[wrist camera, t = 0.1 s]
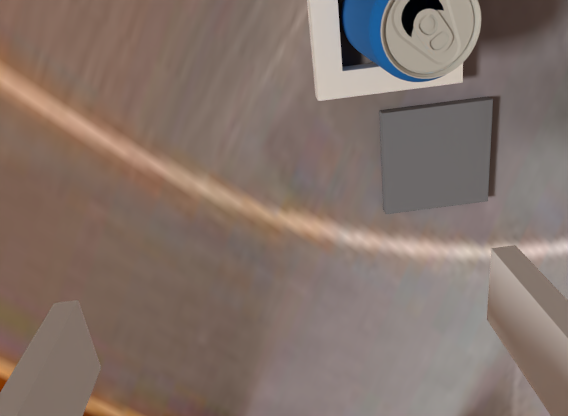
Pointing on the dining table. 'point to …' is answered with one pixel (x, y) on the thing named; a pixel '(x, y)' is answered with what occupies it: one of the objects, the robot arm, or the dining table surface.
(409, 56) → the beverage can
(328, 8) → the can holder
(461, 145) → the coaster
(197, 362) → the dining table surface
